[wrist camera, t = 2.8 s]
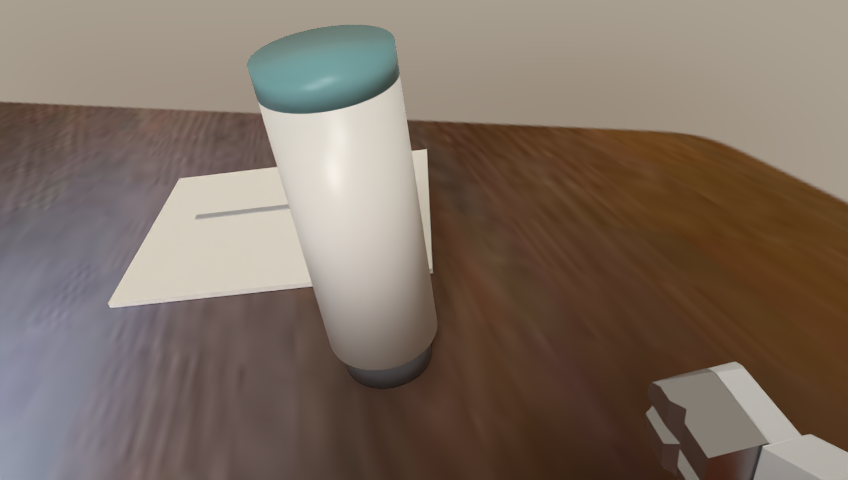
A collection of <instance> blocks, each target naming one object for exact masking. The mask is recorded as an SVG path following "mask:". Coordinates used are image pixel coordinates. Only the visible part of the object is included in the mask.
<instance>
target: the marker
mask: <svg viewBox="0 0 848 480" xmlns="http://www.w3.org/2000/svg"><path fill="white" fill-rule="evenodd" d="M247 66H248V69H249V73H250V76H251V80H252V83H253V86H254V90H255V93H256V96H257V100H258V103H259V106H260V110H261V114H262V117H263V120H264V124H265V127H266V130H267V134H268V137H269V141H270V144H271V147H272V151H273V154H274V157H275V161H276V164H277V167H278V171H279V174H280V178H281V181H282V184H283V188H284V191H285V194H286V198H287V201H288V205H289V208H290V211H291V215H292V218H293V221H294V225H295V228H296V232H297V235H298V238H299V242H300V245H301V248H302V252H303V255H304V259H305V262H306V265H307V269H308V272H309V275H310V279H311V282H312V286H313V289H314V292H315V296H316V299H317V302H318V306H319V309H320V313H321V316H322V319H323V323H324V326H325V329H326V333H327V336H328V340H329V343H330V346H331V349H332V351H333V352H334V354H335V355H336V356H337V358H339V359H340V360H341V361H342V362H344V363H346V365H347V369H348V371H349V373H350V375H351V376H352V377H353V378H354V379H355V380H356V381H358V382H359V383H361V384H363V385H365V386H369V387H373V388H392V387H397V386H400V385H403V384H406V383H408V382H410V381H412V380H413V379H415V378H416V377H417V376H419V375H420V374H421V373H422V372H423V371H424V370H425V368H426V367H427V366H428V364H429V362H430V359H431V355H432V348H431V343H432V341H433V339H434V337H435V335H436V332H437V317H436V310H435V303H434V297H433V290H432V284H431V277H430V270H429V264H428V257H427V251H426V244H425V237H424V231H423V224H422V218H421V211H420V204H419V198H418V191H417V185H416V178H415V171H414V165H413V158H412V152H411V145H410V138H409V132H408V125H407V119H406V112H405V105H404V100H403V93H402V86H401V80H400V72H399V66H398V59H397V53H396V46H395V40H394V36H393V35H392V34H391V33H390V32H389V31H387V30H385V29H382V28H379V27H374V26H367V25H339V26H329V27H322V28H317V29H311V30H307V31H303V32H299V33H295V34H292V35H289V36H286V37H283V38H281V39H278V40H276V41H273V42H271V43H269V44H267V45H265V46H264V47H262V48H261V49H259V50H258V51H256V52H255V53H254V54H253V55H252V56H251V57H250V59H249V60H248V64H247Z"/></svg>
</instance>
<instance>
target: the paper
mask: <svg viewBox="0 0 848 480" xmlns="http://www.w3.org/2000/svg"><path fill="white" fill-rule="evenodd" d="M411 152H412V158H413V165H414V171H415V178H416V185H417V191H418V198H419V204H420V211H421V218H422V224H423V231H424V237H425V244H426V251H427V257H428V264H429V270H430V274H433V264H432V243H431V222H430V201H429V180H428V159H427V149H425V150H416V151H411ZM302 287H312V282H311V279H310V275H309V272H308V269H307V265H306V262H305V259H304V255H303V252H302V248H301V245H300V242H299V238H298V235H297V232H296V228H295V225H294V221H293V218H292V215H291V211H290V208H289V205H288V201H287V198H286V194H285V191H284V188H283V184H282V181H281V178H280V174H279V171H278V167H273V168H265V169H256V170H248V171H240V172H231V173H223V174H214V175H206V176H198V177H189V178H181V179H179V180H178V182H177V184H176V186H175V187H174V189H173V191H172V193H171V194H170V196H169V198H168V200H167V201H166V203H165V205H164V207H163V208H162V210H161V212H160V214H159V215H158V217H157V219H156V221H155V222H154V224H153V226H152V228H151V229H150V231H149V233H148V235H147V236H146V238H145V240H144V241H143V243H142V245H141V247H140V248H139V250H138V252H137V254H136V255H135V257H134V259H133V261H132V262H131V264H130V266H129V268H128V269H127V271H126V273H125V275H124V276H123V278H122V280H121V282H120V283H119V285H118V287H117V289H116V290H115V292H114V294H113V296H112V297H111V299H110V301H109V303H108V305H109V307H110V308H117V307H126V306H135V305H144V304H154V303H163V302H172V301H182V300H191V299H200V298H210V297H219V296H228V295H237V294H247V293H256V292H265V291H275V290H284V289H293V288H302Z"/></svg>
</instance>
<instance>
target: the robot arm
mask: <svg viewBox="0 0 848 480" xmlns="http://www.w3.org/2000/svg"><path fill="white" fill-rule="evenodd" d="M648 398H649V400H650V402H651V403H652V405H653V406H652V407H651V408H650V409H649V410H648V412H647V413H646V418H645V429H646V433H647V438H648V442H649V444H650V447H651V449H652V451H653V454H654V455H655V457H656V459H657V461H658V463H659V464H660V466H661V467H663V468H664V469H666V470H668V471H669V472H671V473H673V474H674V475H676V478H675V480H848V452H846V451H844V450H842V449H840V448H838V447H836V446H834V445H832V444H830V443H828V442H826V441H824V440H822V439H820V438H818V437H816V436H814V435H812V434H807V435H801V434H800V433H799V432H798V431H797V430H796V428H795V427H794V426H793V425H792V424H791V422H790V421H789V420H788V419H787V418H786V417H785V415H784V414H783V413H782V412H781V411H780V409H779V408H778V407H777V406H776V405H775V404H774V402H773V401H772V400H771V399H770V398H769V396H768V395H767V394H766V393H765V392H764V391H763V389H762V388H761V387H760V386H759V385H758V383H757V382H756V381H755V380H754V379H753V378H752V376H751V375H750V374H749V373H748V372H747V371H746V369H745V368H744V367H743V366H742V365H740V364H739V363H737V362H730V363H726V364H722V365H719V366H715V367H711V368H708V369H700V370H696V371H692V372H689V373H685V374H681V375H677V376H674V377H670V378H666V379H663V380H659V381H655V382H652V383H651V385H650V386H649V389H648Z"/></svg>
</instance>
